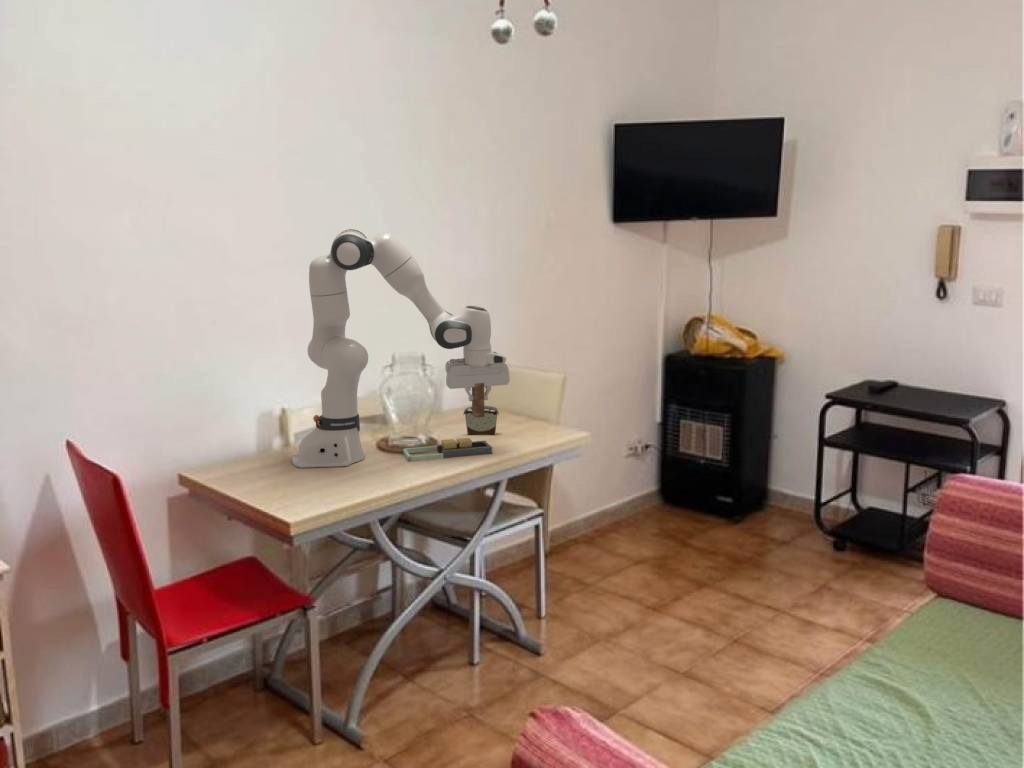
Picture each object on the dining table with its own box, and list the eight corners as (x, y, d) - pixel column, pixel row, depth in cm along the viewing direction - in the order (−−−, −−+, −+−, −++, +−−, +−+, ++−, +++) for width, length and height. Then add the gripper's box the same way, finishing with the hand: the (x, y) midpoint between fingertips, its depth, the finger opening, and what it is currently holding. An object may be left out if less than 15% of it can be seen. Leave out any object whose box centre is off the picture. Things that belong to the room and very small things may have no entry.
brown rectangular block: (475, 417, 295) (474, 383, 292) (472, 414, 298) (471, 381, 296) (484, 416, 295) (484, 383, 293) (481, 414, 299) (480, 380, 297)
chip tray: (408, 464, 288) (408, 456, 287) (402, 455, 297) (402, 448, 297) (443, 461, 291) (443, 453, 290) (436, 453, 300) (436, 445, 300)
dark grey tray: (443, 461, 291) (443, 452, 290) (436, 453, 300) (436, 444, 300) (492, 456, 296) (492, 447, 295) (484, 448, 305) (484, 440, 304)
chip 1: (444, 455, 294) (444, 443, 293) (441, 452, 298) (441, 440, 297) (456, 454, 295) (456, 442, 294) (453, 451, 299) (453, 439, 298)
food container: (501, 433, 324) (501, 405, 322) (499, 438, 318) (499, 409, 316) (466, 432, 326) (465, 405, 324) (463, 437, 320) (463, 409, 318)
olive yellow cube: (459, 454, 295) (459, 441, 294) (456, 450, 299) (456, 438, 298) (472, 453, 296) (471, 440, 296) (468, 449, 300) (468, 437, 299)
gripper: (447, 361, 287) (448, 404, 290) (510, 357, 293) (511, 400, 296) (443, 357, 293) (444, 400, 296) (505, 354, 299) (505, 396, 302)
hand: (478, 400), depth 296 cm, fingers closed on brown rectangular block, 3 cm apart
